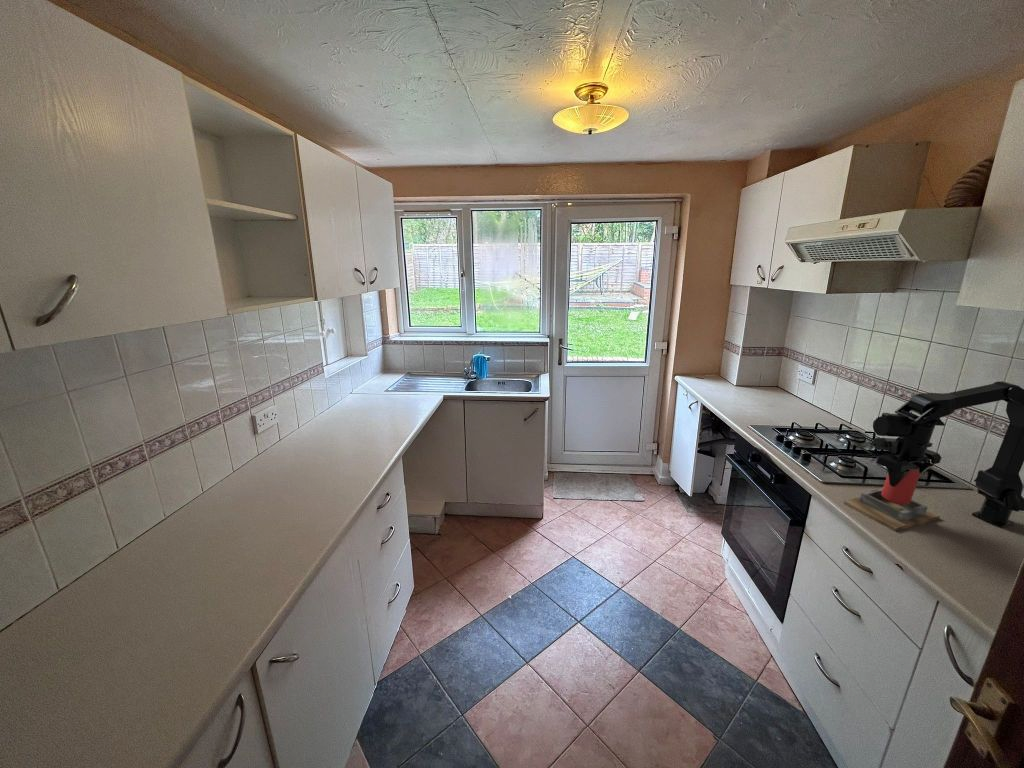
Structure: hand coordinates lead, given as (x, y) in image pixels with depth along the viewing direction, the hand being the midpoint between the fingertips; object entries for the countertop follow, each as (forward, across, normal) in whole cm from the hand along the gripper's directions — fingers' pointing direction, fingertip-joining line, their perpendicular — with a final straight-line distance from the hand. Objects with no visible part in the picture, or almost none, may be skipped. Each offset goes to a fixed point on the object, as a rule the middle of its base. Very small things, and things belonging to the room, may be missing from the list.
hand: (900, 483), depth 120 cm
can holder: (+10, 0, 0) cm, 10 cm away
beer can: (+6, 0, 0) cm, 6 cm away
